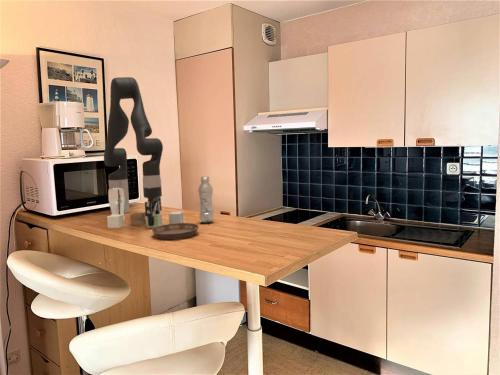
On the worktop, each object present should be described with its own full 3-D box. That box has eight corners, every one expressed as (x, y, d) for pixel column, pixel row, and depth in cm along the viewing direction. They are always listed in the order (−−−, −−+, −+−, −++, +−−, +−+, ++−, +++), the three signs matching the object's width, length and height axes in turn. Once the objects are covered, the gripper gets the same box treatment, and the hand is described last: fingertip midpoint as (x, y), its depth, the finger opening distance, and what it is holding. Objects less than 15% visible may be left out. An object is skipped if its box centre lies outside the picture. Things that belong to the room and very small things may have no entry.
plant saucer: (152, 243, 141) (152, 234, 141) (151, 232, 158) (151, 225, 158) (202, 238, 146) (201, 230, 145) (195, 228, 163) (195, 221, 162)
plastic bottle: (215, 220, 176) (213, 176, 174) (212, 224, 169) (210, 177, 167) (201, 221, 177) (199, 176, 174) (197, 224, 170) (195, 178, 168)
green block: (150, 225, 171) (150, 213, 171) (162, 225, 171) (161, 213, 170) (147, 227, 166) (146, 216, 166) (158, 227, 166) (157, 216, 165)
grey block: (172, 223, 175) (171, 211, 174) (183, 222, 174) (183, 211, 174) (169, 225, 170) (168, 214, 169) (180, 225, 169) (180, 213, 169)
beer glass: (116, 222, 178) (113, 189, 177) (107, 221, 183) (104, 189, 181) (129, 220, 184) (126, 188, 182) (120, 218, 188) (118, 187, 186)
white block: (112, 225, 173) (112, 214, 172) (123, 225, 172) (123, 214, 172) (107, 228, 168) (107, 216, 167) (119, 228, 167) (118, 216, 167)
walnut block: (135, 223, 176) (134, 212, 175) (146, 223, 176) (145, 212, 175) (130, 226, 171) (130, 214, 170) (142, 225, 171) (141, 214, 170)
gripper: (149, 184, 174) (151, 220, 176) (137, 188, 160) (140, 227, 162) (165, 183, 173) (167, 220, 175) (155, 187, 159) (157, 227, 161)
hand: (154, 223), depth 168 cm, fingers open, 8 cm apart
